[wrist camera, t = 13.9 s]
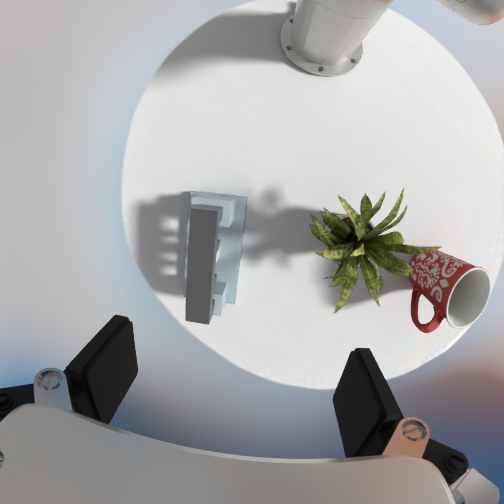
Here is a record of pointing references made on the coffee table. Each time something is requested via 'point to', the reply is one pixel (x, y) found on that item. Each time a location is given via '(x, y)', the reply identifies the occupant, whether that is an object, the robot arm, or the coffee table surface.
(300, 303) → the coffee table surface
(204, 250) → the dark grey bar
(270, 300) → the coffee table surface
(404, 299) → the coffee table surface
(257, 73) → the coffee table surface
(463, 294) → the mug
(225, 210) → the display stand
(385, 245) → the house plant
